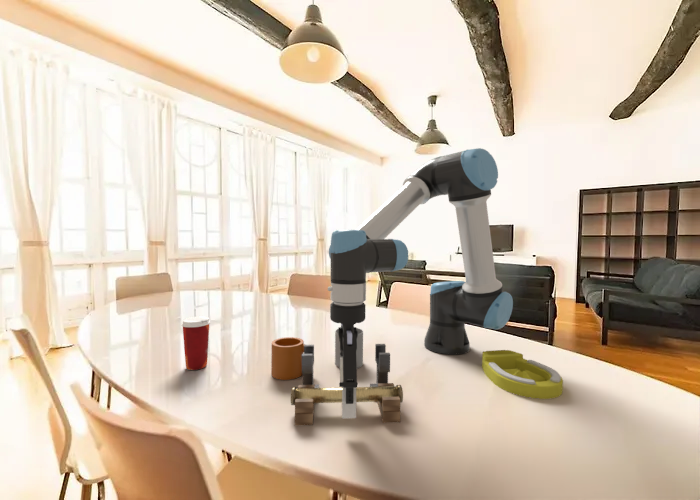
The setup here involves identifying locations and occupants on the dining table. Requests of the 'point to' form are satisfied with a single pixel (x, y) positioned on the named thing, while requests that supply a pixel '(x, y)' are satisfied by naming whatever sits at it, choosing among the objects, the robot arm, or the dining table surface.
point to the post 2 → (381, 364)
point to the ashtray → (521, 375)
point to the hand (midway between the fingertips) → (347, 399)
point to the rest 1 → (304, 409)
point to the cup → (358, 353)
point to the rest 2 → (389, 407)
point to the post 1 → (308, 365)
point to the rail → (336, 394)
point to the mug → (287, 358)
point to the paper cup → (196, 341)
